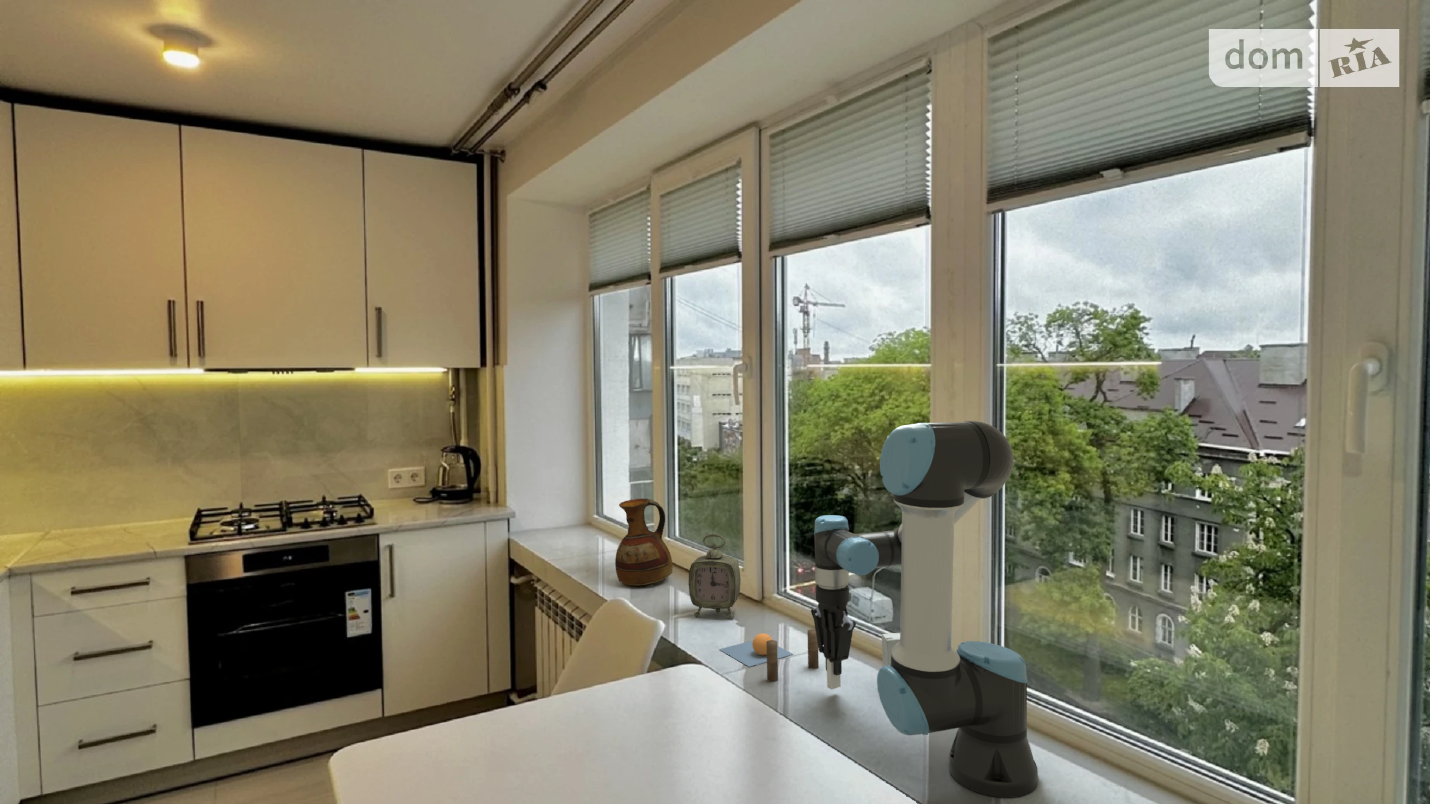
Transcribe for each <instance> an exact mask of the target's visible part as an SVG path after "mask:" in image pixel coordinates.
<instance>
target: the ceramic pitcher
mask: <svg viewBox="0 0 1430 804" xmlns="http://www.w3.org/2000/svg"><path fill="white" fill-rule="evenodd" d="M648 506H649V507H650V506H654V507H655V508H657V511H658V514H659V515H658V517H659V521H658V525H657V528H656V529H655V531H653V530H650V529H649V528H648V526H647V523H646V519H645V509H646V508H647V507H648ZM618 507H619V508H621V509H622V510H623V511H624V512H625V516H626V519H625V520H626V523H627V525H628V528H627V534H626V535H625V536H623V538H622V540H621V541H620V543H619V545H618V546H617V550H616V551H615V552H616V553H615V563H614V564H615V565H614V566H615V572H616V576H617V579H618V581H619V582H621V583H622V584H624V585H627V586H628V585H629V586H644V585H645V586H646V585H650V584H655V583H658V582H660V581H662V580H665V579H666V578H668V577H670V576H671V575H672V574H673V559H672V555H671V551H670V549H669V548H668V546H667V545H666V543H665V542H664V540H663V533H664V530H665V529H664V528H665V525H666V514H665V513H666V512H665V510H664V508H663V506H661V505H660V503H659V502H657V501H655V500H653V499H651V498H634V499H628V500H625V501H622V502H620V503H619V505H618Z"/></svg>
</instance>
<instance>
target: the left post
mask: <svg viewBox="0 0 1430 804" xmlns="http://www.w3.org/2000/svg"><path fill="white" fill-rule="evenodd" d="M766 645H767V662H766V679H767V681H769V682H776V681H778V680H779V665H778V664H779V663H778V662H779V661H778V660H779V659H778V653H777V646H778V641H777V640H774V639H772V640H769V641H767V642H766Z"/></svg>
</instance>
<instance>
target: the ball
mask: <svg viewBox="0 0 1430 804" xmlns="http://www.w3.org/2000/svg"><path fill="white" fill-rule="evenodd" d="M769 640H773V638H772V637H771V636H770V635H769V634H767V633H764V632H763V633H762V632H761V633H758V634H757V635H755V636H754V637H753V640H752V641H753V643H752V646H753V649H754V651H755V652H756V653H757V654H759V655H762V656H763V655H767V645H766V642H767V641H769Z"/></svg>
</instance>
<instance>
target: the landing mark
mask: <svg viewBox="0 0 1430 804" xmlns="http://www.w3.org/2000/svg"><path fill="white" fill-rule="evenodd" d="M752 643H753V640H749V641H746V642H742V643H738V644H735V645H730V646H726V647H722V648H718V650H719V651H720V652H722V651H723V652H722V653H724V654H725V655H727V654H728V655H727V656H729V655H730V656H729V657H731V658H732V659H734V658H735V659H734V660H736V661H737V660H738V661H737V662H739V661H740V662H739V663H741V662H742V663H741V664H742V665H744V664H745V665H744V666H746V665H747V666H746V667H748V668H751V666H752V667H755V666H758V665H757V664H759V665H762V664H767V655H763V656H762V655H759V654H757V653H756V652H755V651H754V649H753V646H752ZM777 653H778V660H780V659H783V658H787V657H791V656H793V655H794V653H792V652H790V651H788V650H786V649H784V648H782V647H781V646H778V645H777ZM790 655H791V656H790ZM754 665H755V666H754Z"/></svg>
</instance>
